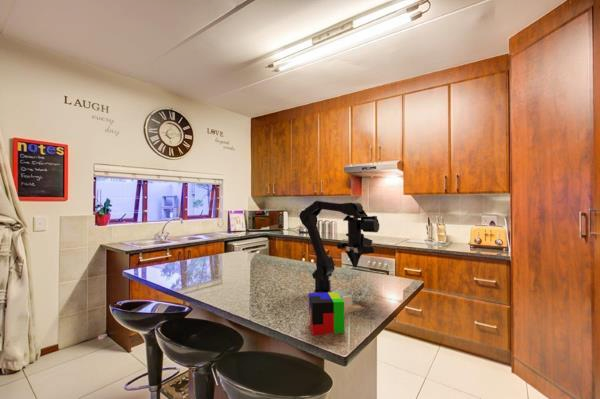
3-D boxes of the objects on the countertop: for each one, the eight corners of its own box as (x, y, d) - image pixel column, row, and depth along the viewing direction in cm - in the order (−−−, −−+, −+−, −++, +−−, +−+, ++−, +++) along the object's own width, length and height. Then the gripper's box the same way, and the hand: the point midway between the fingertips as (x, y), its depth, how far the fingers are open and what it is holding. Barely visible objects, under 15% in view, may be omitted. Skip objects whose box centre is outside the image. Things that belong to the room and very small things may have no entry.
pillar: (343, 297, 110) (330, 291, 118) (343, 308, 110) (330, 301, 118) (351, 295, 112) (338, 290, 120) (352, 306, 112) (338, 299, 120)
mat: (365, 309, 109) (365, 308, 109) (344, 314, 105) (344, 313, 105) (343, 299, 122) (343, 298, 122) (323, 303, 117) (323, 302, 117)
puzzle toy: (309, 322, 98) (308, 293, 99) (337, 321, 99) (337, 292, 99) (312, 335, 88) (312, 303, 89) (344, 334, 89) (344, 301, 89)
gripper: (384, 232, 120) (384, 269, 119) (355, 228, 136) (356, 261, 136) (363, 233, 114) (363, 272, 114) (336, 230, 131) (336, 264, 131)
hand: (355, 267), depth 124 cm, fingers closed
